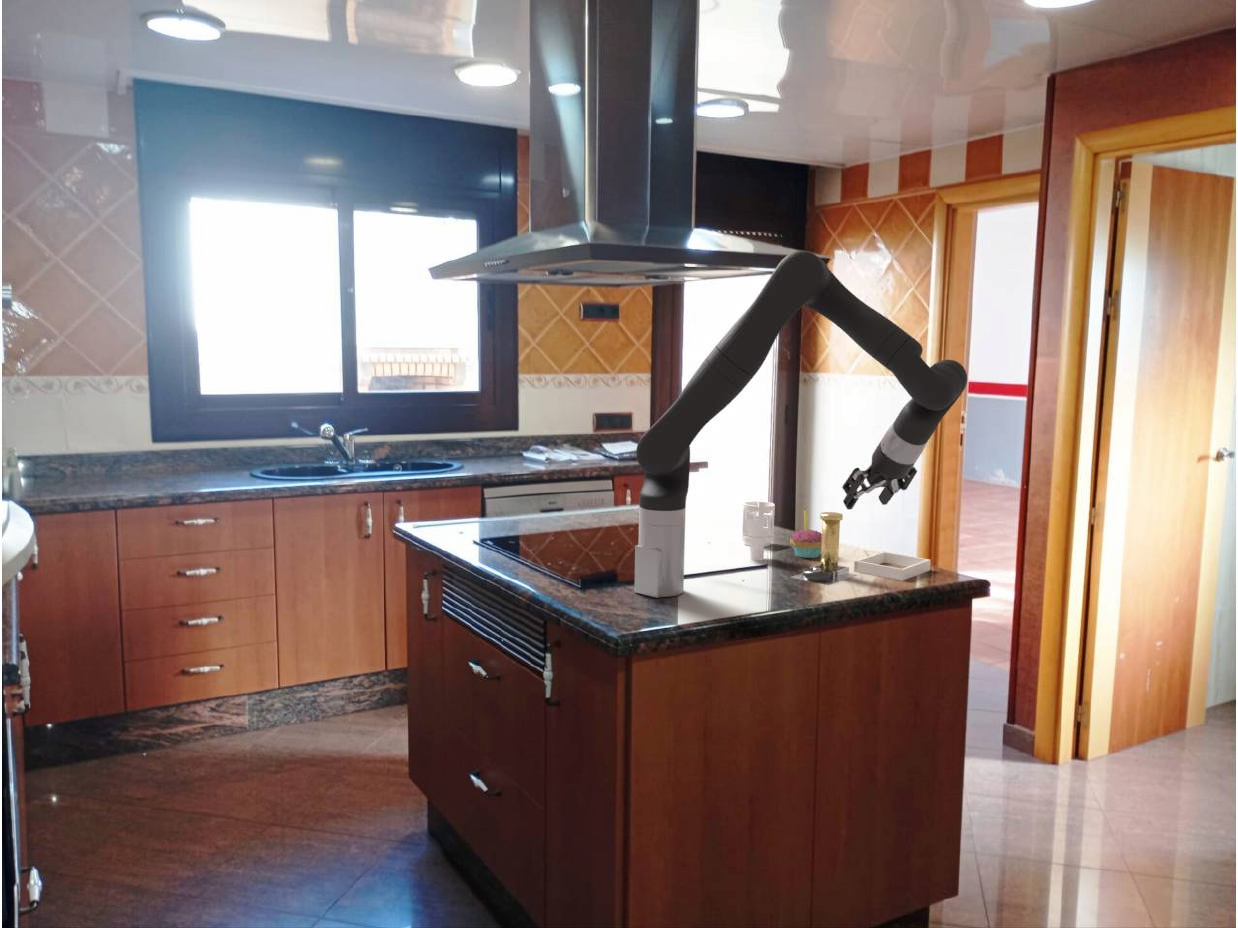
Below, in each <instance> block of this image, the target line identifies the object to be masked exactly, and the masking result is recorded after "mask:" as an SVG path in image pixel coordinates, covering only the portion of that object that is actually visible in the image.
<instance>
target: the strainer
mask: <svg viewBox="0 0 1238 928" xmlns="http://www.w3.org/2000/svg"><path fill="white" fill-rule="evenodd" d="M775 507H776V505H775V503H773V502H770V501H769V502H768V501H764V500H763V499H756V500H752V501H751V500H749V501H748V500H747V501H744V502H743V503H742V515H741V517H742V519H741V520H742V521H741V522H742V523H741V541H743V542H744V541H745V542H749V543H751V545H750V546H749V551H750V553H749V559H750V560H751V561H760V562H761V561H764V559H765V557H764V556H765V555H764V553H765V547H764V543H771V544H772V543H773V542H774V536H775V535H774V530H775V511H774V509H776V508H775ZM746 510H747V511H746ZM750 511H758V513H756V512H752V514H750ZM764 511H771V513H768V514H766V513H764ZM745 515H746V527H745ZM762 517H763V518H762ZM770 524H771V532H770ZM763 525H764V526H763Z"/></svg>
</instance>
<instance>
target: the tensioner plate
mask: <svg viewBox="0 0 1238 928" xmlns="http://www.w3.org/2000/svg"><path fill="white" fill-rule="evenodd" d="M820 567H821V562H820V563H817V564H813V565H811V566H809V567H804V568H802V570H801V573H799V574H795V575H793V576H790V578H791V579H796V580H802V581H806V582H811V583H815V584H816V583H817V584H820V585H826V586H829V585H833V584H835V583H839V582H842V581H845V580H847V579H848V580H849V579H851V578H853V577H856V576H857V574H854V573H850V567H849V566H844V565H840V564H838V570H837V571H835V572H834V571H830V570H828V569H824V568H820Z"/></svg>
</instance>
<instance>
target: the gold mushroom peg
mask: <svg viewBox="0 0 1238 928" xmlns="http://www.w3.org/2000/svg"><path fill="white" fill-rule="evenodd" d="M843 517H844V514H843V513H839V512H833V511H827V512H826V511H825V512H820V514H819V519H820V520H822V522H821V523H822V525H821V526H822V527H821V534H822V544H821V552H820V563H821V567H820V568H824V569H828V570H830V571H834V572H835V571H837V570H838V565H839V554H840V553H839V552H840V548H839V547H840V528H841V521H843Z"/></svg>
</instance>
